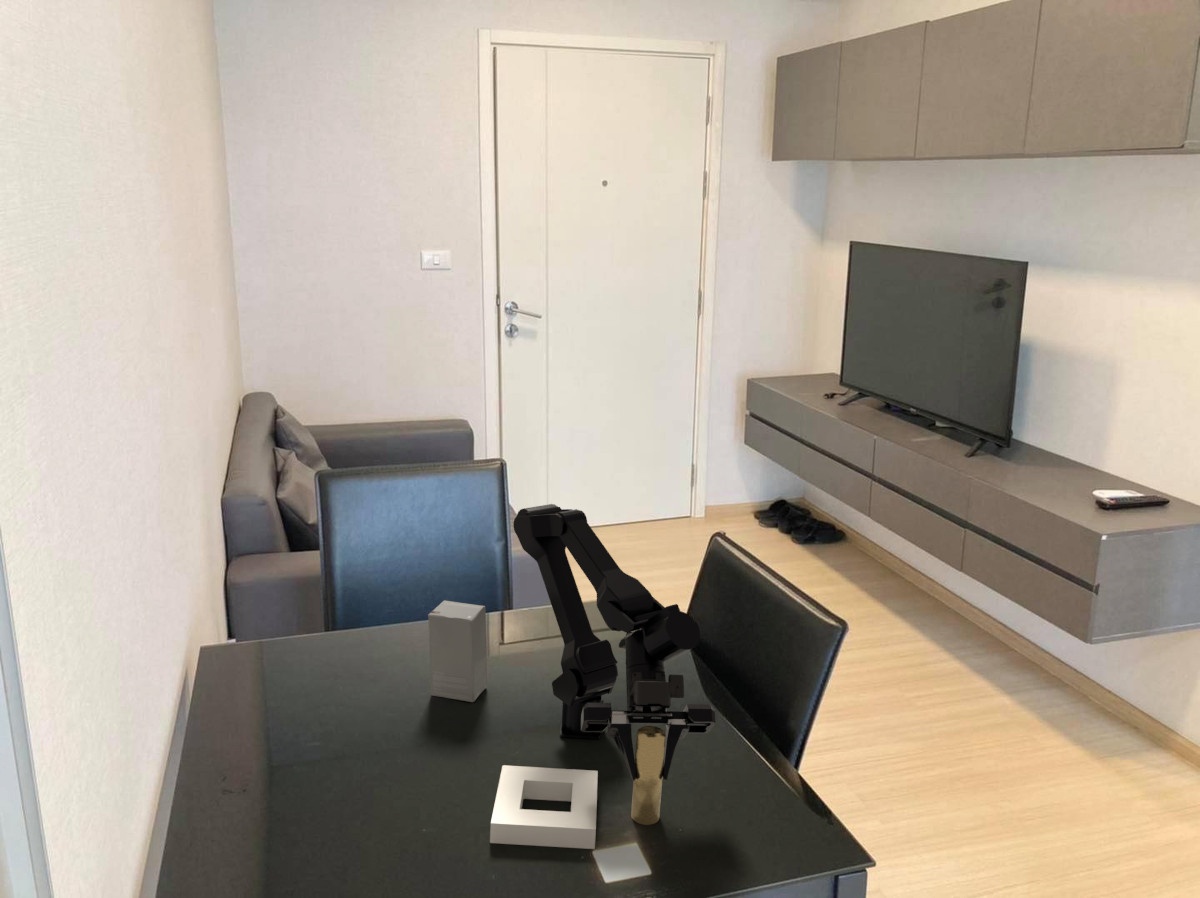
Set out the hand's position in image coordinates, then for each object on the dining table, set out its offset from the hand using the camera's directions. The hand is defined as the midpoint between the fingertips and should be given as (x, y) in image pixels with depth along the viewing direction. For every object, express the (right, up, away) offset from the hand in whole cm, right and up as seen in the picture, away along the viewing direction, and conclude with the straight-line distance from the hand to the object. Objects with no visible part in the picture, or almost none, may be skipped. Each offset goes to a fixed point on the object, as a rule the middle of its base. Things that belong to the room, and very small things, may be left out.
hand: (649, 780), depth 135 cm
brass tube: (0, -6, +3) cm, 7 cm away
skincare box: (-32, +3, +35) cm, 47 cm away
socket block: (-14, -5, +2) cm, 16 cm away
